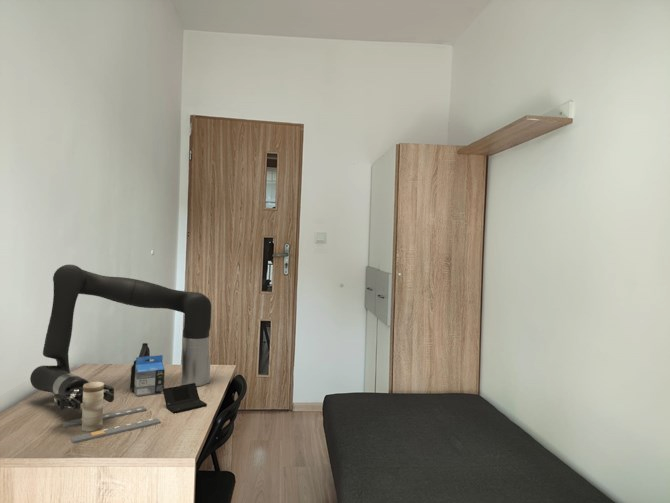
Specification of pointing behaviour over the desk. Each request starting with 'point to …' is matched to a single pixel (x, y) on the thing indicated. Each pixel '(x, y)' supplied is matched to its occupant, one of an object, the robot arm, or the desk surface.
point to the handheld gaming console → (182, 398)
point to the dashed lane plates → (111, 430)
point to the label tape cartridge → (149, 375)
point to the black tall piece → (143, 353)
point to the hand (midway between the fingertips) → (96, 402)
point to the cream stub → (92, 406)
